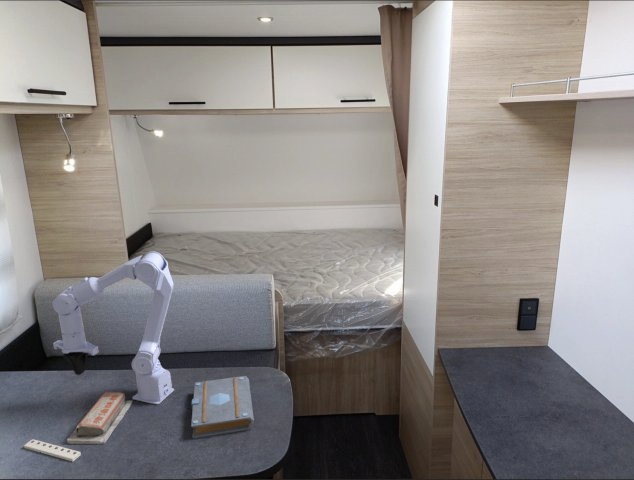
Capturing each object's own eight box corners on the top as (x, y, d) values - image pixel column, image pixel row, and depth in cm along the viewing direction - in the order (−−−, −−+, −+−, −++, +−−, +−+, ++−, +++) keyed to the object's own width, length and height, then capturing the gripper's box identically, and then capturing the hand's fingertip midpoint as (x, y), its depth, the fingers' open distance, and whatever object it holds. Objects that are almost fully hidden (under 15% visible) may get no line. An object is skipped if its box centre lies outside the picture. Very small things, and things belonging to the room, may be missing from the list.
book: (254, 430, 123) (253, 414, 122) (191, 440, 120) (189, 423, 118) (249, 387, 143) (248, 373, 141) (194, 394, 140) (193, 380, 138)
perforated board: (81, 454, 115) (80, 451, 114) (72, 461, 112) (72, 458, 112) (33, 441, 120) (32, 438, 119) (24, 448, 117) (23, 445, 117)
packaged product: (98, 389, 135) (131, 389, 134) (100, 404, 136) (133, 403, 136) (64, 429, 117) (102, 429, 117) (67, 445, 119) (105, 445, 118)
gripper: (41, 333, 130) (49, 376, 133) (82, 340, 126) (89, 384, 129) (61, 323, 136) (69, 364, 140) (101, 329, 132) (107, 371, 136)
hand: (80, 373), depth 135 cm, fingers closed
